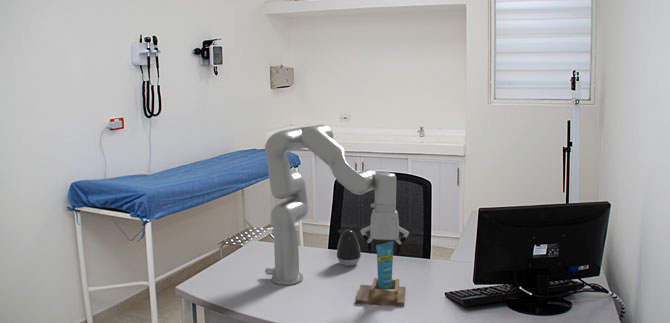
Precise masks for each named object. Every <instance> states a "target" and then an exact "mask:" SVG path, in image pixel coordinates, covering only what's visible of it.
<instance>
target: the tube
mask: <svg viewBox="0 0 670 323" xmlns="http://www.w3.org/2000/svg"><path fill="white" fill-rule="evenodd" d="M394 245H395V240H391V241H388V242H385V243H380V244H376V246H375V247H376V261H377V264H376V266H377V278H378V289H392V279H393V263H394V262H393V261H394V247H395V246H394Z"/></svg>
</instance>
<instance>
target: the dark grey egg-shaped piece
mask: <svg viewBox="0 0 670 323" xmlns="http://www.w3.org/2000/svg"><path fill="white" fill-rule="evenodd" d="M337 233H339V234H340V238H339V240H338V244H337V248H336V258H337V261H338V262H339V263H340V264H341V265H342V266H345V267H352V266H356V265H357V263H358V262H359V261H360V259H361V256H362V253H361V247H360V244H359V241H358V237H357V235H356V233H355V231H353V230H351V229H345V230H344V231H342V230H341V229H337Z"/></svg>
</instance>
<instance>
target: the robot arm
mask: <svg viewBox="0 0 670 323" xmlns="http://www.w3.org/2000/svg"><path fill="white" fill-rule="evenodd" d="M302 149H308V150H309V151H310V152H311V153H312V154H314V155H315V156H316V157H318V158H319V159H320V160H321V161H322V162H324V164H326V165H327V166H328V167H329V169H330V171H331V173H332V175H333V177H334V178H335V180H336V181H337V182H338V183H339V184H341V186H343V188H345V189H347V191H349V192H350V193H352V194H354V195H359V196H360V195H364V194H366V193H368V192H371V191H374V202H373V203H370V208H372V209H373V210H372V212H371V215H370V225H367V226H366V227H364V228H361V229H360V233H361V236H362V238H363V240H365V241H366V242H367V251H369V254H370V255H371V254H372V253H373V240H380V241H381V240H383V241H385V240H386V241H395V242H396V256H399V254H400V253H401V252H402V251H401V250H402V244H403V243H404V242H405V241H407V238H408V236H409V235H410V232H409V231H408V230H406V229H405V228H403V227H401V226H400V221H399V220H400V219H399V213H398V210H397V209H396V208H397V206H396V205H397V176H396V174H395V173H392V172H388V171H386V172H381V171H378V170H373V169H363V170H361V171H357V170H356V169H354V168H353V167H352V166H350V164H348V162H347V161H346V159H345V153H346V152H345V148H344V147H343V146H342V145H341V144H339V143H338V142H336V140H334V133H333V131H332V129H331V128H330V127H329V126H327V125H325V124H317V125H310V126H303V127H301V126H300V127H294V128H290V129H289V128H288V129H284V130H280V131H277V132H274V133H273V134H272V135H270V136H269V137H268V139H267V140H266V142H265V145H264V154H265V159H266V163H267V170H268V178H269V179H268V180H269V186H270V192H271V194H272V196H273V197H274V198H275V199H277V200H283V199H285V200H284V201H281V202H279V203H277V204H276V205H274V207H273V208H272V209H271V212H270V221H271V225H272V229H273V230H272V231H273V243H274V244H273V246H274V247H273V248H274V249H273V250H274V267H272V268H271V267H265V269H264V273H265V274H266V275H268V276H269V275H272V276H271V282H272V283H274V284H277V285H281V286H283V285H284V286H291V285H295V284H299V283H301V282H302V281H303V280H304V275H303V273H301V272H300V261H299V260H300V258H299V257H300V255H299V254H300V253H299V234H298V230H297V228H296V225H295V224H296V223H297V222H299V221H301V220H303V219H305V218H306V216H307V215H308V210H309V204H308V197H307V189H306V182H305V179H304V178H303V176H302V175H301V173H299V172H298V171H296V170H291V165H290V160H289V158H288V157H287V155H286V154H287V153H290V152H294V151H298V150H302ZM366 232H369V234H370V235H368V234H367V233H366ZM400 233H402V234H403V236H402V237H400V236H399V235H400Z"/></svg>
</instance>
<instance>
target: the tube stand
mask: <svg viewBox="0 0 670 323" xmlns="http://www.w3.org/2000/svg"><path fill="white" fill-rule="evenodd" d="M406 289H407V288H406V286H400V278H392V289H378V277H374V278H373V282H372V284H368V285H367V284H360V285H359V290H358V292H357V295H356V299H355V302H356V303H355V304H356V305H366V306H367V305H369V306H372V305H373V306H386V307H387V306H389V307H390V306H391V307H394V306H395V307H405V303H406V302H405V301H406Z"/></svg>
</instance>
